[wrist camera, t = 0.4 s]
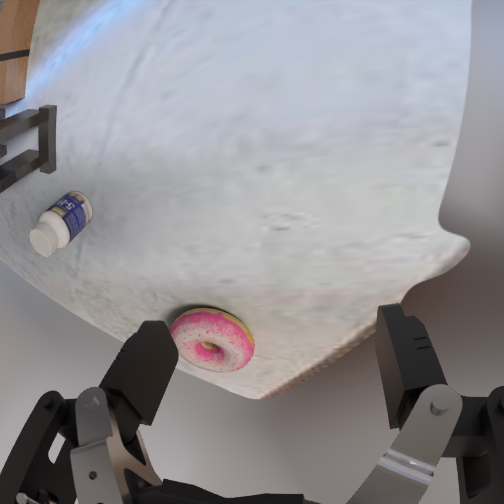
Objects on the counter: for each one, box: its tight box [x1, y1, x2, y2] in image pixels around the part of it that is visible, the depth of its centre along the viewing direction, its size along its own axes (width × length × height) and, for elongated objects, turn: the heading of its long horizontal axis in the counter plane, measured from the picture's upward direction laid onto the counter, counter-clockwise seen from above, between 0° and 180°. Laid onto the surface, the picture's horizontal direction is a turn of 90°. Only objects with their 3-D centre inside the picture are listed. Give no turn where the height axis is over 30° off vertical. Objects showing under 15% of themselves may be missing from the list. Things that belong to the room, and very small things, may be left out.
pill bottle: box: [29, 191, 92, 257], centre depth 31 cm, size 5×5×9 cm
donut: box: [170, 308, 255, 373], centre depth 43 cm, size 14×13×5 cm
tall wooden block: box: [0, 0, 40, 104], centre depth 17 cm, size 19×4×4 cm, turn 165°
